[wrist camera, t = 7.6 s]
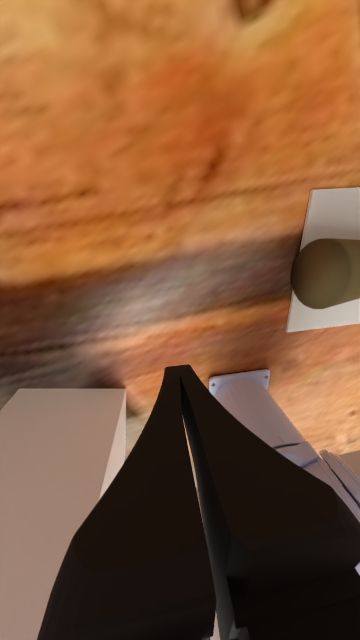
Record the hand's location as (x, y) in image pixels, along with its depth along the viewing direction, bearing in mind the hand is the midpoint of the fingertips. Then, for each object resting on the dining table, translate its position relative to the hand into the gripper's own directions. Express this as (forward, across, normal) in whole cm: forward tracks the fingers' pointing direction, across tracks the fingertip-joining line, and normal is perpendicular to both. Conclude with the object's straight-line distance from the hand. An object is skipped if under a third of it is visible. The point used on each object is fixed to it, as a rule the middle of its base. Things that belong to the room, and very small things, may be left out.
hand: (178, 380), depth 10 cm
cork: (+7, -13, -4) cm, 15 cm away
